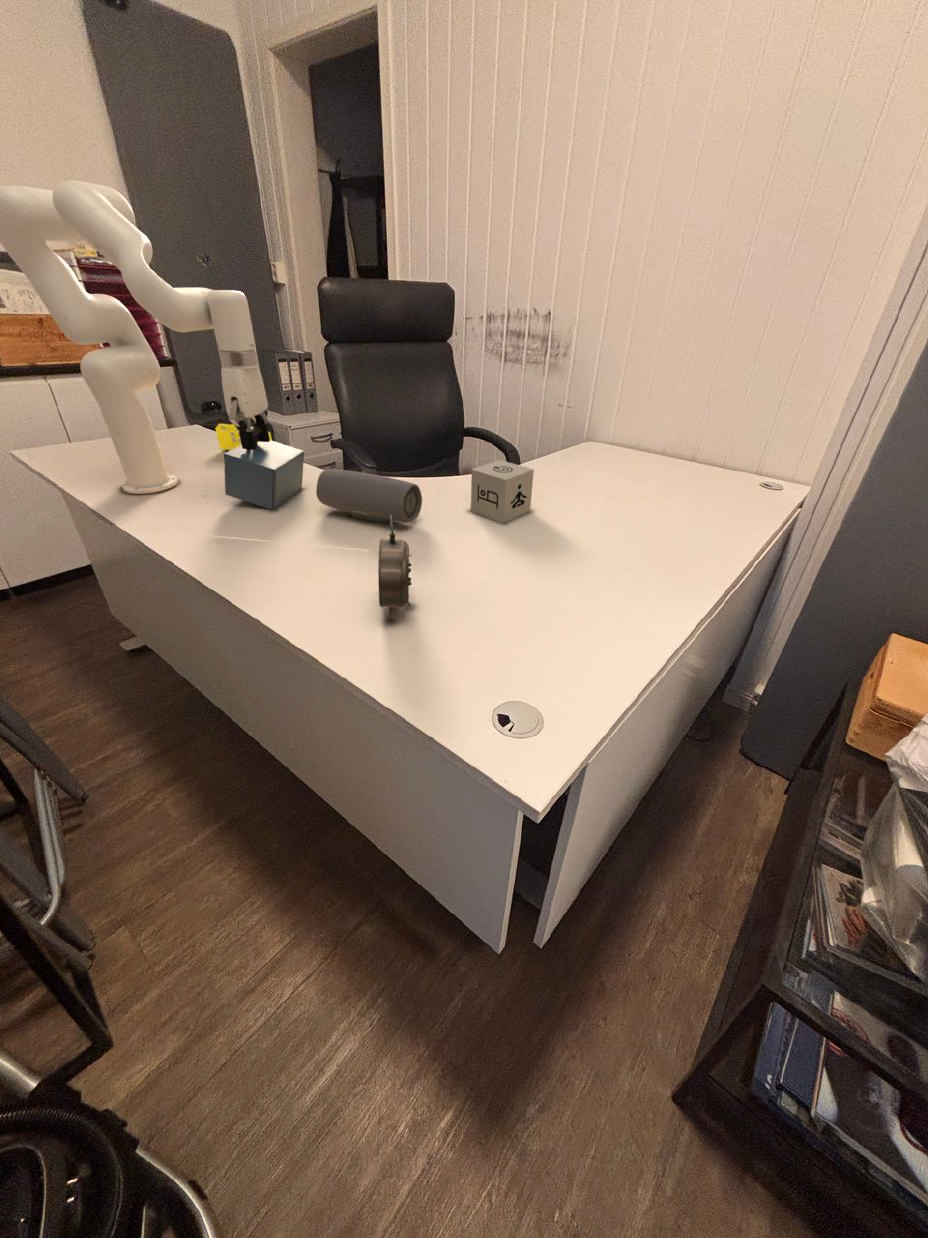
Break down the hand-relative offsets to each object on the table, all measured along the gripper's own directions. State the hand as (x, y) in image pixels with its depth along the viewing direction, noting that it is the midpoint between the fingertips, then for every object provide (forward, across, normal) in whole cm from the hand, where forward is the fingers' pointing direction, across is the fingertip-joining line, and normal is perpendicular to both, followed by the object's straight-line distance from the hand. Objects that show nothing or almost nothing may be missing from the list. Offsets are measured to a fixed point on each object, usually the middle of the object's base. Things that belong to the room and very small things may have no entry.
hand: (256, 444), depth 118 cm
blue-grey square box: (+11, 0, 0) cm, 11 cm away
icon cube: (+12, -3, +58) cm, 59 cm away
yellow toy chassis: (+14, -34, -25) cm, 45 cm away
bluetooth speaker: (+13, +6, +29) cm, 32 cm away
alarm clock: (+12, +42, +46) cm, 63 cm away
